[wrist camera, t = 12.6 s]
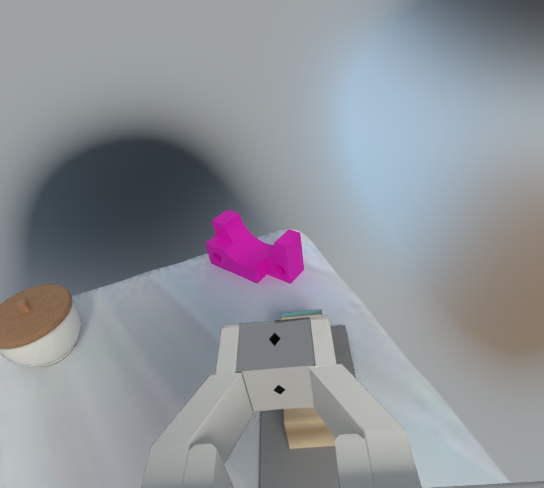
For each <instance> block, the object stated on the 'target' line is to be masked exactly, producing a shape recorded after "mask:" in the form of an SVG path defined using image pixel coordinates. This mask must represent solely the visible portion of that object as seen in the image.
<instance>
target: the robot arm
mask: <svg viewBox="0 0 544 488" xmlns="http://www.w3.org/2000/svg"><path fill="white" fill-rule="evenodd" d="M310 407H314V409H315V411H316V412H317V413H318V415H319V416H320V418H321V419H322V420H323V422H324V423H325V425H326V426H327V428H328V429H329V430H330V432H331V433H332V435H333V436H334V437H335V439H336V440H335V453H336V468H337V483H338V488H422V487H421V484H420V480H419V477H418V473H417V470H416V466H415V463H414V459H413V456H412V452H411V449H410V445H409V442H408V438H407V435H406V431H405V429H404V428H403V427H402V426H401V425H400V423H399V422H398V421H397V420H396V419H395V418H394V417H393V416H392V415H391V414H390V413H389V412H388V411H387V410H386V409H385V408H384V407H383V406H382V405H381V404H380V403H379V402H378V401H377V400H376V399H375V398H374V397H373V396H372V395H371V394H370V392H369V391H368V390H367V389H366V388H365V387H364V386H363V385H362V384H361V383H360V382H359V381H358V380H357V379H356V378H355V377H354V376H353V375H352V374H351V373H350V372H349V371H348V370H347V369H346V368H345V367H344V366H343V365H342V364H336V358H335V352H334V346H333V340H332V334H331V327H330V321H329V317H328V315H325V316H315V317H303V318H294V319H284V320H275V321H266V322H252V323H240V324H226V325H223V327H222V329H221V334H220V342H219V349H218V356H217V364H216V371H215V374H214V375H209V377H208V378H207V379H206V380H205V381H204V383H203V384H202V385H201V386H200V388H199V389H198V390H197V391H196V392H195V394H194V395H193V396H192V397H191V398H190V400H189V401H188V402H187V403H186V405H185V406H184V407H183V408H182V409H181V411H180V412H179V413H178V414H177V415H176V417H175V418H174V419H173V420H172V422H171V423H170V424H169V425H168V426H167V428H166V429H165V430H164V431H163V432H162V434H161V435H160V436H159V437H158V439H157V440H156V441H155V442H154V443H153V445H152V446H151V450H150V454H149V458H148V462H147V466H146V470H145V474H144V478H143V482H142V486H141V488H234V487H233V485H232V482H231V480H230V478H229V476H228V473H227V471H226V469H225V466H224V464H225V462H226V461H227V459H228V457H229V455H230V454H231V452H232V450H233V449H234V447H235V445H236V443H237V442H238V440H239V438H240V436H241V435H242V433H243V431H244V429H245V428H246V426H247V424H248V422H249V421H250V419H251V417H252V415H253V412H256V411H266V410H276V409H289V408H310ZM432 488H544V481H538V482H522V483H521V482H520V483H502V484H485V485H468V486H450V487H432Z"/></svg>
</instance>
